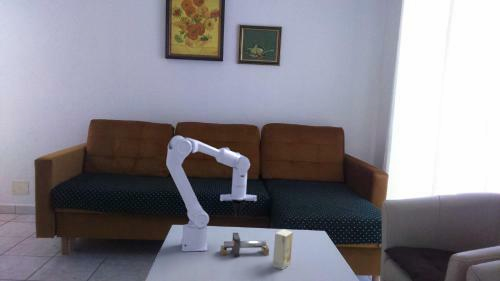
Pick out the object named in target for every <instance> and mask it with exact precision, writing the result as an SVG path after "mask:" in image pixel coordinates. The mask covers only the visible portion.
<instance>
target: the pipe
mask: <svg viewBox="0 0 500 281" xmlns="http://www.w3.org/2000/svg"><path fill="white" fill-rule="evenodd" d="M232 248H234V241H232V240H224V241H223V245H220V254H221V257H227V256H228V249H232ZM248 248H249V249H253V248H254V249H255V248H256V249H257V248H261V252H262V255H263V256H269V255H270V254H269V253H270V249H269V246H268V245H267V241H266V240H240V249H248Z"/></svg>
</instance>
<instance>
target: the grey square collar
mask: <svg viewBox="0 0 500 281" xmlns="http://www.w3.org/2000/svg"><path fill="white" fill-rule="evenodd" d="M231 241H234V248H231V252H232V254H233V257H234V258H235V257H236V258H238V257H240V252H241V248H240V241H241V237H240V234H239V232H232V240H231Z"/></svg>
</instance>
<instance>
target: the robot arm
mask: <svg viewBox="0 0 500 281" xmlns="http://www.w3.org/2000/svg"><path fill="white" fill-rule="evenodd" d="M197 152H199V153H203V154H205V155H209V156H212V157H214V158H215V160H216V162H217V163H221V164H223V165H225V166H229V167H231V168H232V182H231V184H232V185H231V194H230V193H228V194H227V193H226V194H220V197H219V198H220V199H219V200H220V202H223V201H231V203H232V206H233V209H234V216H235V219H240V218H241V213H242V211H243V209H244V208H245V206H246V202H247V201H254V202H257V200H258V198H257V197H258V196H257V195H255V194H248V193H247V182H248V181H247V180H248V171H249V169H250V168H251V167H250V166H251V163H250V159H249V158H248V157H246V156H244V155H243V154H240V152H235V151H231V150H230V148H229V147H222V148H221V147H220V148H219V149H217V148H216V147H213V146H211V145H209V144H206V143H204V142H201V141H199V140H197V139H193V138H190V137H183V135H174V136H173V137H172V138H171V139H170V141H169V143H168V145H167V154H166V155H167V156H166V161H165V162H166V163H165V164H166V168H167V169H168V171H169V173H170V175H171V178H172V179H173V182H174V183H175V185H176V186H175V187H177V190H178V192H179V194H180V196H181V198H182V200H183V202H184V204H185V208H186V209H187V214H186V215H187V217H188V219H189V221H188V223H187V224H182V238H181V242H180V243H181V252H207V251H208V244H207V232H208V230H207V228H208V224H209V221H210V216H209V214H208V213H207V212H206V211H205V210H204V209H203V207H202V205H200V202H199V201H198V198H197V196H196V194H195V192H194V189H193V188H192V186H191V183H190V181H189V179H188V178H187V175H186V172H185V171H184V168H183V167H182V164H183V162H184V161H185V159H186V157H188V156H189V155H190V154H191V153H192V154H195V153H197Z"/></svg>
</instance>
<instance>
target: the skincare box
mask: <svg viewBox="0 0 500 281" xmlns="http://www.w3.org/2000/svg"><path fill="white" fill-rule="evenodd" d="M293 235H294V231H291V230H288V229H285V228H284V229H281V230H278V231H277V232H276V233H275V234H274V247H273V256H272V257H273V259H272V267H274V268H277V269H280V270H284V269H286V268H287V267H288V266H290V265H291V258H292V247H293V238H294V237H293Z"/></svg>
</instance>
